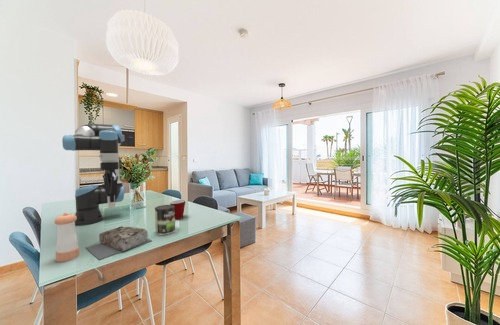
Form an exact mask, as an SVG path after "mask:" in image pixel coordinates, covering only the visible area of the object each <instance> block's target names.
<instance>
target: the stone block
mask: <svg viewBox="0 0 500 325" xmlns="http://www.w3.org/2000/svg"><path fill="white" fill-rule="evenodd" d="M148 236H149V235H148V230H147V229H145V228H138V227H131V226H119V227H116V228H112V229H109V230H106V231H104V232H101V233H99V236H98V237H99V238H98V239H99V243H102V244H105V245H107V246H110V247H112V248H115V249H118V250H120V251H123V252H126V251H128V250H127V249H129V250H131V249H130V248H132V247H134V246H136V245H139V244H141V243H144V242H146V241H147V238H148ZM134 248H135V247H134ZM132 249H133V248H132ZM125 250H126V251H125Z"/></svg>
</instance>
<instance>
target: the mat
mask: <svg viewBox="0 0 500 325" xmlns="http://www.w3.org/2000/svg"><path fill="white" fill-rule="evenodd" d="M150 242H152V239H150V238H148V237H147V241H146V242H144V243H141V244H139V245H136V246H134V247H132V248H130V249H127V250H125V251H120V250H118V249H115V248H112V247H110V246H107V245H105V244H102V243H100V242H99V243H95V244H93V245H89V246H86V247H85V249H86V251H87V252H89V253H90V254H91V255H92V256H94V257H95V258H96V259H97V260H98V261H101V260H105V259H106V258H110V257H113V256H115V255H117V254H120V253H123V252H127V251H128V250H133V249H135V248H137V247H140V246H142V245H145V244H147V243H150Z"/></svg>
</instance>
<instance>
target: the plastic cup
mask: <svg viewBox="0 0 500 325" xmlns="http://www.w3.org/2000/svg"><path fill="white" fill-rule="evenodd" d="M186 201H187V200H186V199H176V200H171V201H169V202H168V203H169V205H174V206H175V220H181V218H182V219H183V218H184V213H185V205H186Z"/></svg>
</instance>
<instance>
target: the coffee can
mask: <svg viewBox="0 0 500 325" xmlns="http://www.w3.org/2000/svg"><path fill="white" fill-rule="evenodd" d="M154 210H155V211H154V218H155V220H154V222H155V235H158V236H166V235H171V234H173V233H174V232H176V219H175V206H174V205H170V204H163V205H157V206H155V207H154Z"/></svg>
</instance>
